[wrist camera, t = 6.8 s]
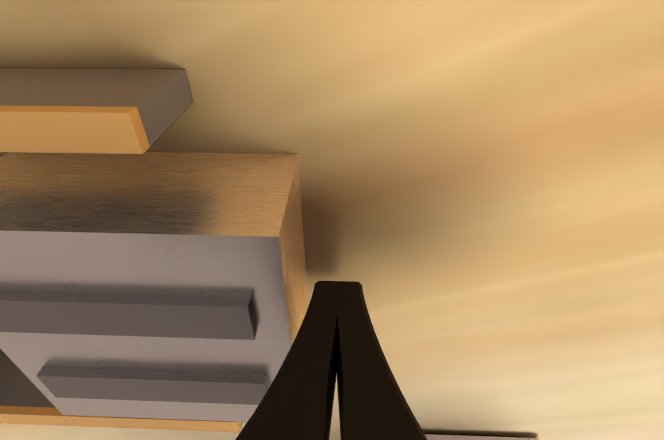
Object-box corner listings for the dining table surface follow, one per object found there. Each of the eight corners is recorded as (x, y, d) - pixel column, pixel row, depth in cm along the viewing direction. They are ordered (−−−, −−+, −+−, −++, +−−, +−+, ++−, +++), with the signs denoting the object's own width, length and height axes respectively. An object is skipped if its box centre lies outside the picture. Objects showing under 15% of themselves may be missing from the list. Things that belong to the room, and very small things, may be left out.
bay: (254, 364, 16) (239, 432, 14) (-3, 357, 17) (-58, 421, 14) (185, 69, 9) (128, 113, 6) (-287, 65, 9) (-493, 106, 7)
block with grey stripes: (310, 329, 15) (299, 433, 12) (118, 323, 15) (56, 424, 12) (299, 150, 10) (275, 246, 7) (17, 147, 10) (-128, 237, 7)
